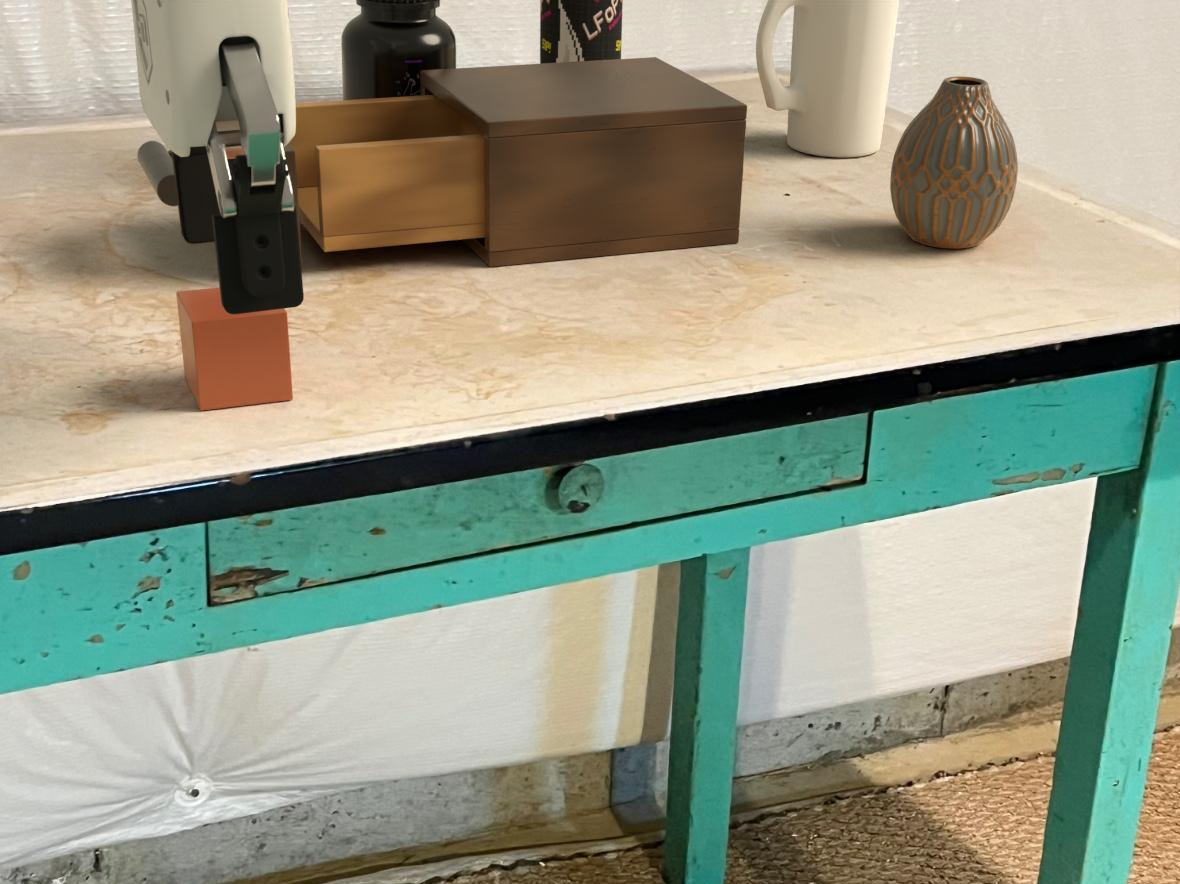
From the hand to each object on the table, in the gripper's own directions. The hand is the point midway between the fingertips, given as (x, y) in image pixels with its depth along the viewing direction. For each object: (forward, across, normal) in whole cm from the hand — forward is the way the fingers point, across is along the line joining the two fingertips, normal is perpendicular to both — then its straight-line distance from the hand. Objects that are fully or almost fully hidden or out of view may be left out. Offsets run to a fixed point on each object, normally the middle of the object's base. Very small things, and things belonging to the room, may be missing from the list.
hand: (240, 271), depth 72 cm
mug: (+6, -30, +43) cm, 53 cm away
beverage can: (+6, -45, +32) cm, 56 cm away
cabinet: (+6, -19, +22) cm, 30 cm away
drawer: (+4, -19, +8) cm, 21 cm away
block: (+5, 0, -1) cm, 5 cm away
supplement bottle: (+6, -31, +15) cm, 35 cm away
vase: (+6, -10, +41) cm, 43 cm away
